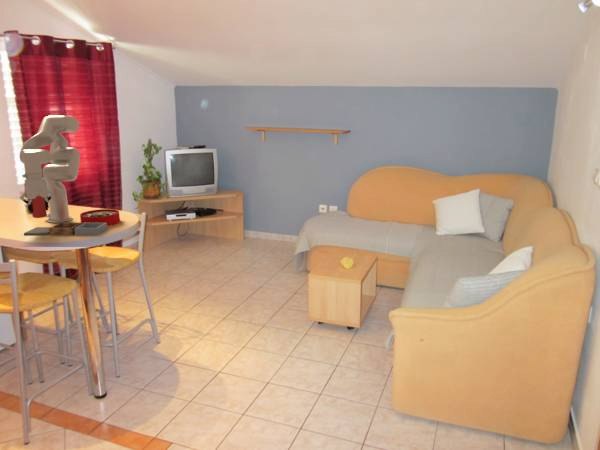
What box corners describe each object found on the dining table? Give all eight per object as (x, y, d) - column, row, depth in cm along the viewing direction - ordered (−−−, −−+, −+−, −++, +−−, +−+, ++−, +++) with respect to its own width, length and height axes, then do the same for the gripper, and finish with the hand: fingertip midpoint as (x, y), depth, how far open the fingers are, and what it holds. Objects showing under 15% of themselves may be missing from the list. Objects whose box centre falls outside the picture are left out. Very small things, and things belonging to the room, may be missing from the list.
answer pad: (24, 235, 258) (23, 233, 257) (37, 229, 269) (36, 227, 269) (47, 235, 257) (47, 233, 257) (59, 229, 269) (59, 227, 268)
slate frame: (75, 235, 257) (74, 228, 256) (85, 229, 268) (84, 222, 267) (97, 235, 256) (97, 228, 255) (107, 229, 267) (106, 222, 266)
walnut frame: (49, 234, 257) (48, 228, 256) (61, 229, 268) (60, 222, 268) (72, 235, 257) (71, 228, 256) (82, 229, 268) (82, 222, 267)
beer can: (35, 215, 264) (32, 192, 261) (48, 215, 264) (46, 192, 261) (30, 218, 257) (27, 194, 255) (43, 218, 258) (40, 194, 255)
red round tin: (102, 207, 293) (126, 211, 283) (103, 217, 294) (127, 221, 284) (71, 214, 276) (96, 218, 266) (73, 225, 277) (98, 229, 268)
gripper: (17, 178, 248) (22, 214, 252) (54, 174, 259) (59, 209, 263) (13, 177, 253) (18, 212, 257) (50, 173, 264) (54, 207, 269)
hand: (38, 210), depth 260 cm, fingers closed on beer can, 6 cm apart
